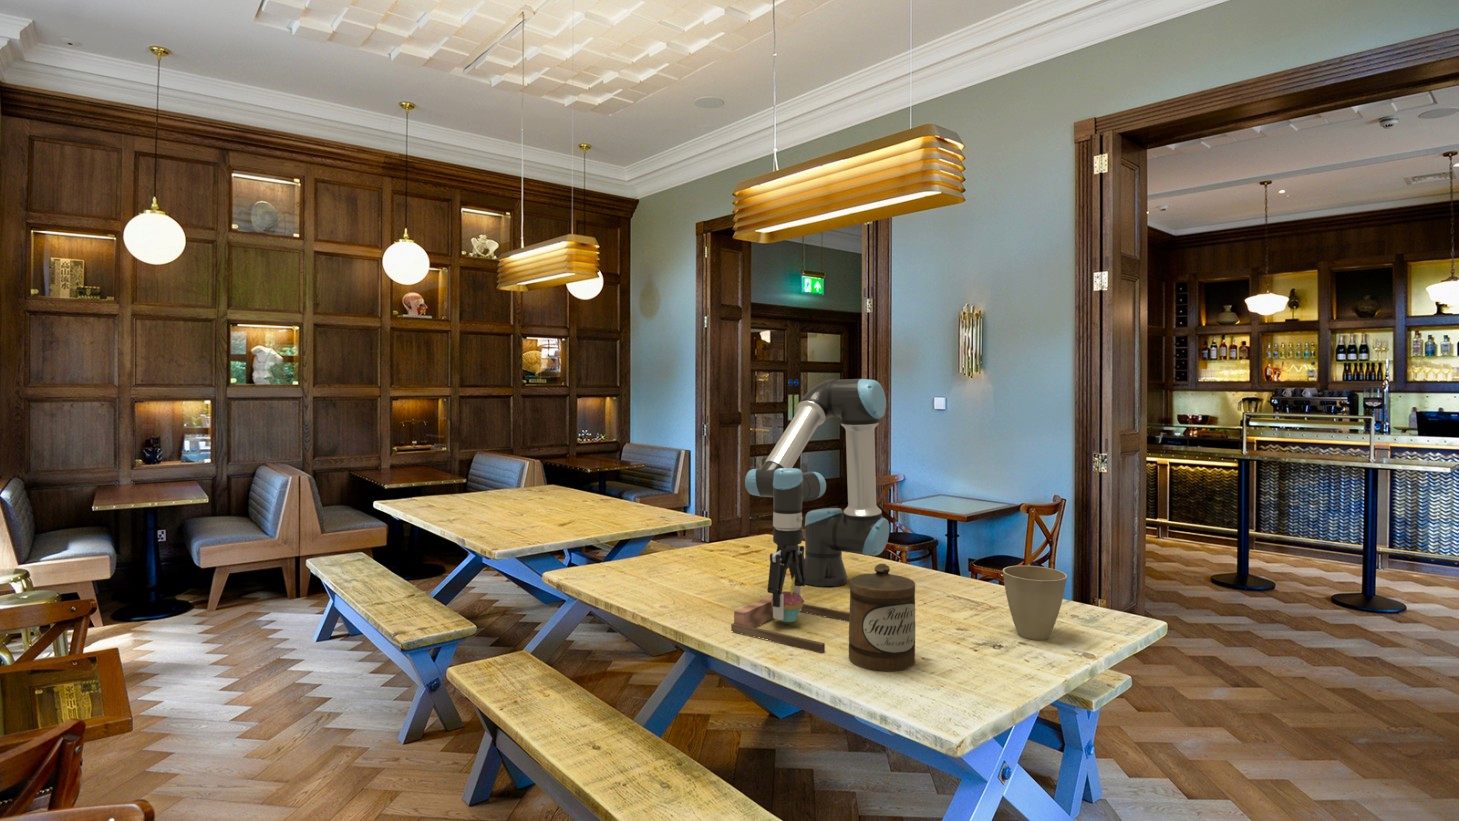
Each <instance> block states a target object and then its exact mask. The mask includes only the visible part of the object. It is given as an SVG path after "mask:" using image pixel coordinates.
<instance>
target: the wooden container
mask: <svg viewBox="0 0 1459 821" xmlns="http://www.w3.org/2000/svg"><path fill="white" fill-rule="evenodd" d="M890 570H891V569H890V566H889V565H887V564H886V563H878V564H877V565H876V564H875V566H874V571H875V573H862V574H858V575H854V576H853V577H851V578H850V581H849V613H850V615H849V621H848V659H849V661H850V662H851V663H853V664H854V665H856V666H858V667H861V668H863V669H865V670H866V669H867V670H872V671H877V672H895V671H897V672H898V671H904V670H907V669H909V668H911V667H912V666H914V665H915V661H916V583H915V580H913V579H911V578H910V577H909V578H908V577H906V576H902V575H898V574H890Z"/></svg>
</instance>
